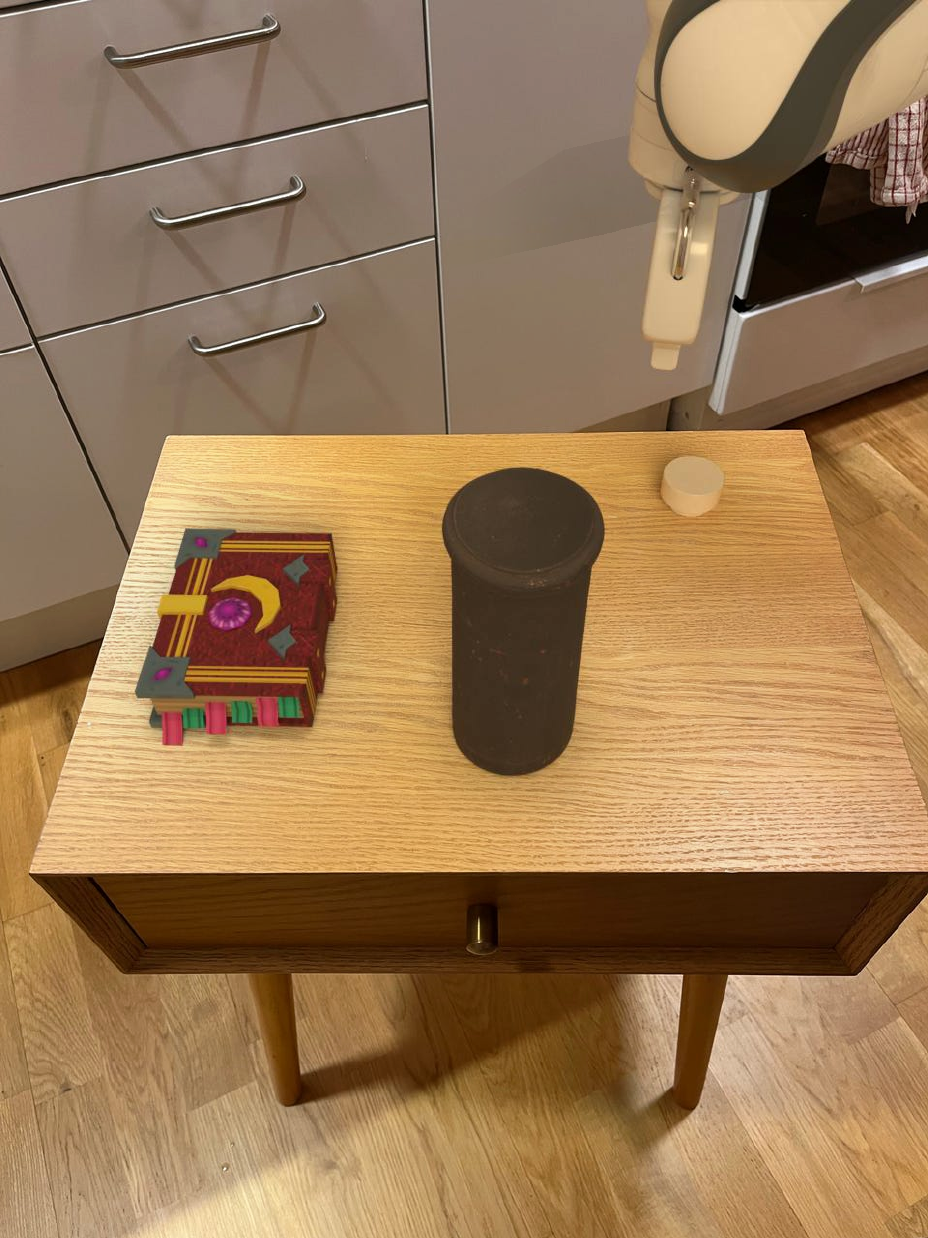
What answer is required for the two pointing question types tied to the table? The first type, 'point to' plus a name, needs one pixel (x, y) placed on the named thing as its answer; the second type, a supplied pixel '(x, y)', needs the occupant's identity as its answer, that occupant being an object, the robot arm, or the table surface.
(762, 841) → the table surface
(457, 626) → the container
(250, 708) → the decorative book
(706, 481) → the beige cylinder disc
